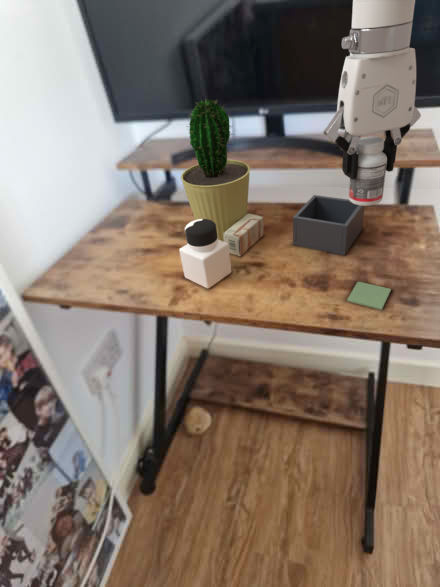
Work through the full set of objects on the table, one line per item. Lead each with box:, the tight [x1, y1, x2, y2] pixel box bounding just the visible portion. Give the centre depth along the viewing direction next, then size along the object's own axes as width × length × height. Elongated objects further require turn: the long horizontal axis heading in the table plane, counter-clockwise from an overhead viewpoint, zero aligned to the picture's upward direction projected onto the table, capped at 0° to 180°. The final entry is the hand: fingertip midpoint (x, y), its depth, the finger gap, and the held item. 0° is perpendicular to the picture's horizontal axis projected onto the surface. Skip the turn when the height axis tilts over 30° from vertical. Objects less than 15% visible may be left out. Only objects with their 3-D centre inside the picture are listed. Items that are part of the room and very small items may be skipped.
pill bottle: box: [348, 135, 387, 207], centre depth 65 cm, size 5×5×10 cm
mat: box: [346, 281, 392, 311], centre depth 72 cm, size 6×6×1 cm
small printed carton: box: [223, 212, 265, 257], centre depth 90 cm, size 5×4×10 cm
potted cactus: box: [180, 98, 251, 242], centre depth 89 cm, size 15×15×30 cm
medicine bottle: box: [178, 219, 232, 289], centre depth 80 cm, size 7×7×12 cm
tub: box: [292, 194, 366, 256], centre depth 88 cm, size 12×12×7 cm
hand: (367, 171), depth 65 cm, fingers closed on pill bottle, 5 cm apart
